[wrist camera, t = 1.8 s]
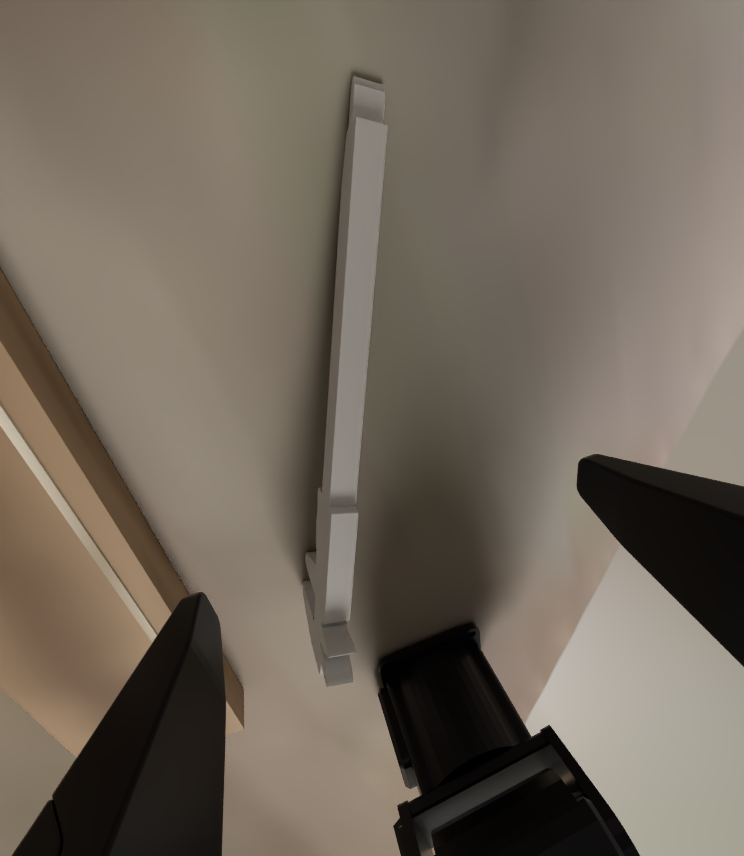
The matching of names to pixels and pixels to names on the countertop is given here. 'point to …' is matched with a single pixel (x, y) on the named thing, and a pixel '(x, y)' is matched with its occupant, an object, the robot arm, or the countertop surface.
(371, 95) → the caliper
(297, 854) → the countertop surface
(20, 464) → the walnut board
